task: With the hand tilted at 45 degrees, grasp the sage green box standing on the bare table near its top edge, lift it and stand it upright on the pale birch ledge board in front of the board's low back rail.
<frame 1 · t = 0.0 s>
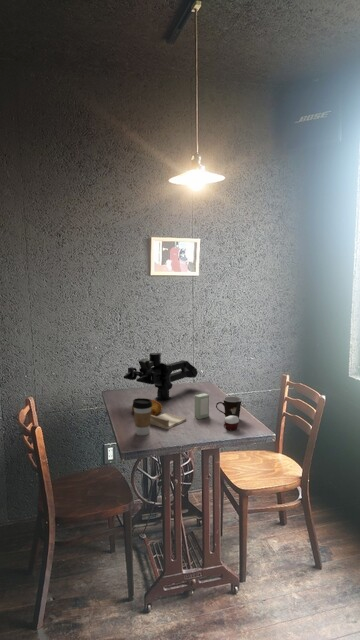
hand: (130, 378, 214), 17 cm above the table, tool horizontal, fingers open, 9 cm apart
coffee cup: (142, 433, 186), on the table
cocoa: (232, 429, 191), on the table
croissant: (147, 413, 213), on the table
ledge board: (166, 421, 200), on the table
coffee mug: (229, 419, 204), on the table
sage green box: (201, 416, 207), on the table
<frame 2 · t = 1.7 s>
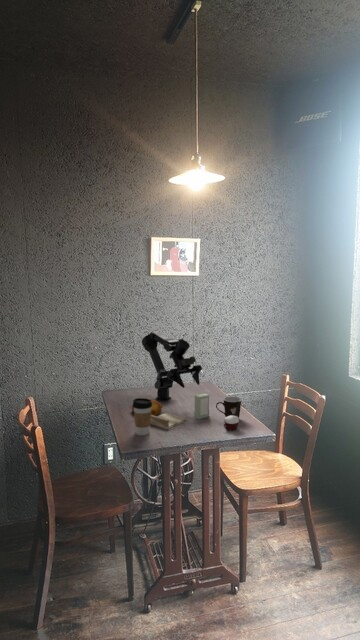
hand: (191, 385, 211), 14 cm above the table, tool tilted 45°, fingers open, 9 cm apart
nothing on the table moved.
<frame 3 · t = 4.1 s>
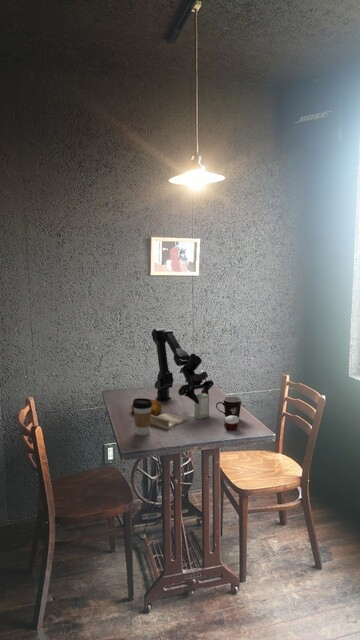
hand: (203, 402, 205), 8 cm above the table, tool tilted 45°, fingers closed on sage green box, 6 cm apart
sage green box: (201, 416, 207), on the table, touching gripper
everything else where it was.
when the fingers open (10 cm above the table, at t = 7.4 s): sage green box drops 1 cm, resting on ledge board.
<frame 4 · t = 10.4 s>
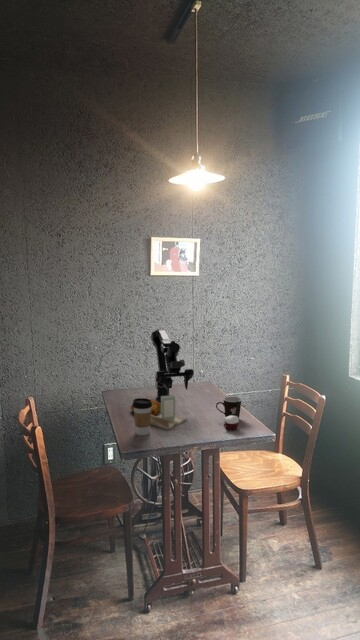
hand: (177, 390, 205), 14 cm above the table, tool tilted 45°, fingers open, 9 cm apart
sage green box: (167, 419, 201), point 1 cm above the table, touching ledge board
everything else where it was.
at the end: sage green box inside the target area on the ledge board (0.2 cm from its centre), point 1.0 cm above the ledge board's base; sage green box tilted 0°; the gripper is holding nothing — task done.
